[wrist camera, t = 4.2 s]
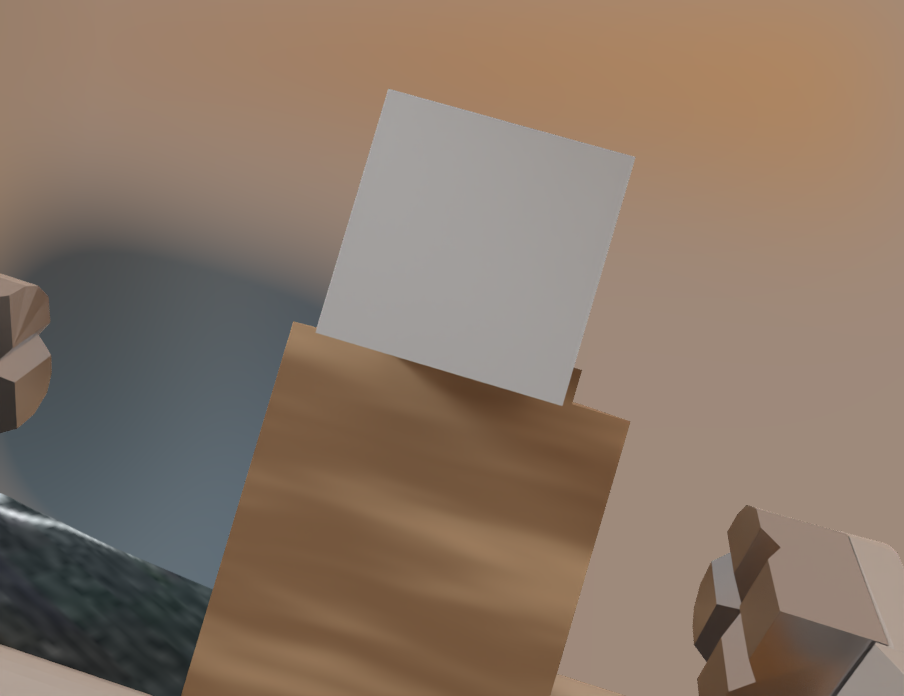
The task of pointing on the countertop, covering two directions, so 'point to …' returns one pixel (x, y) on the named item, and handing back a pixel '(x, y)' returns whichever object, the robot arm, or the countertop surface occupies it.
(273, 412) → the tall wood grain block
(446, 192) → the foil carton
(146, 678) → the countertop surface
